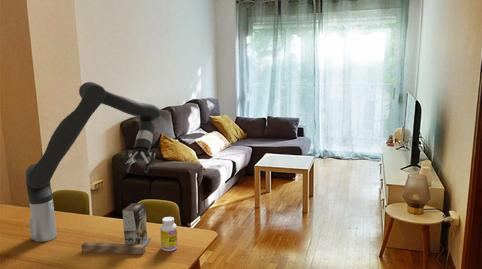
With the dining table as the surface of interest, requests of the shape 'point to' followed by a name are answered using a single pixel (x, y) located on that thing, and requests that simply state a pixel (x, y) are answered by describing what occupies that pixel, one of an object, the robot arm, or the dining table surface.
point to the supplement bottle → (168, 234)
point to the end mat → (146, 241)
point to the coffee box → (135, 223)
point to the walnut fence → (113, 248)
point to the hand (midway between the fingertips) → (136, 171)
